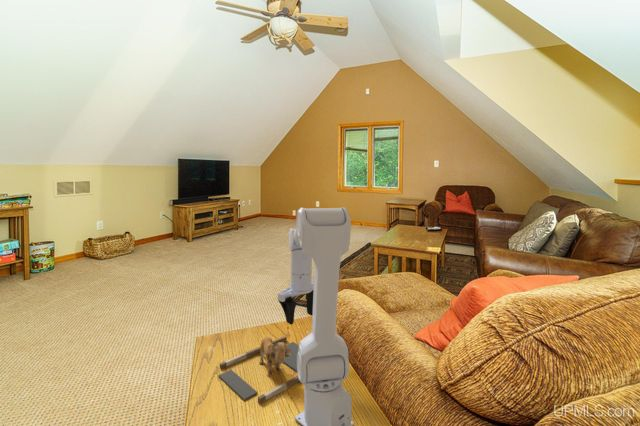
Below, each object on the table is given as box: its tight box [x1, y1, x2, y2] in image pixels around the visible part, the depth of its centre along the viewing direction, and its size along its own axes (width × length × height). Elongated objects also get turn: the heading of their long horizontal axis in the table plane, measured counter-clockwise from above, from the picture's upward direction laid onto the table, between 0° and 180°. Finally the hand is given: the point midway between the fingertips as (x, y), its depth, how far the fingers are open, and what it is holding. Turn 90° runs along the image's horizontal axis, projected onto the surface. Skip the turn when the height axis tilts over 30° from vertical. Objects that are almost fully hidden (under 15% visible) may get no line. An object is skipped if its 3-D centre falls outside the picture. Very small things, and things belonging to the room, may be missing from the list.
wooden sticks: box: [219, 335, 301, 404], centre depth 87 cm, size 18×22×1 cm
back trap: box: [282, 341, 300, 373], centre depth 92 cm, size 12×8×1 cm
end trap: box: [217, 369, 258, 401], centre depth 80 cm, size 12×4×1 cm, turn 44°
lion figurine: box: [257, 336, 291, 378], centre depth 87 cm, size 15×5×9 cm, turn 36°
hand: (300, 318), depth 93 cm, fingers open, 7 cm apart
